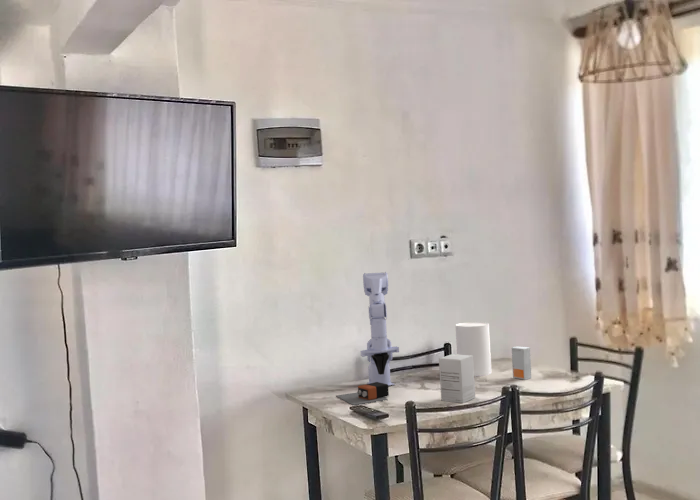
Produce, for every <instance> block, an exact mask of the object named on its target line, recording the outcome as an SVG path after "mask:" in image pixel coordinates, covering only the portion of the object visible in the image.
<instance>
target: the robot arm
mask: <svg viewBox="0 0 700 500" xmlns="http://www.w3.org/2000/svg"><path fill="white" fill-rule="evenodd" d="M388 274H389V273H388V272H387V271H385V272H369V273H366V272H364V273H363V274H362V280H363V282H362V283H363V290H364V291H363V292H364V294H365V296H367V297H369V298H368V299H369V300H368V301H369V304H368V305H369V306H368V319H369V325H370V337H371V339H369V340H367V343H366V349H363V350H360V356H361V357H367V362H368V363H369V365H368V368H367V369H368V370H367V372H368V381H367V382H366V384H370V383H375V382H379V383H384V384H388V387H390V386H391V385H392V386H395V385H396V384H395V383H393V382H391V381H392V379H391V367H390V366H391V365H390V364H391V363H390V362H391V361H393V359H394V358H393V354H394V353H399V352H400V347H399V346H392V341H391V340H390V339H389V338H388V334H387V319H388V314H387V313H388V309H387V304H386V302H385V301H386V300H385V296H386V295H387V294H388V291H389V276H388Z"/></svg>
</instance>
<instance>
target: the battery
mask: <svg viewBox="0 0 700 500" xmlns="http://www.w3.org/2000/svg"><path fill="white" fill-rule="evenodd" d="M356 393H357V394H358V397H359V398H362V399H366V400H373V399H377V398H381V397H384V398H385V397H389V386H388V384H384V383H379V382H375V383H370V384H367V383H366V384H360V385H358V386H357V391H356Z"/></svg>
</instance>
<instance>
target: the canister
mask: <svg viewBox="0 0 700 500" xmlns="http://www.w3.org/2000/svg"><path fill="white" fill-rule="evenodd" d="M490 336H491V334H490V323H489V322H485V321H469V322H460V323H456V324H455V339H456V341H455V343H456V354H458V355H472V356H473V367H474V377H484V375H485V376H488V375H491V374H492V355H491V339H490V338H491V337H490Z"/></svg>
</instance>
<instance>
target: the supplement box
mask: <svg viewBox="0 0 700 500" xmlns="http://www.w3.org/2000/svg"><path fill="white" fill-rule="evenodd" d="M438 367H439V382H440V383H439V384H440V399H441V400H440V401H441V402H452V403H458V404H459V403H460V404H464V403H466V402H468V401H471V400H473V399H475V398H476V386H475V385H476V384H475V376H474V367H473V356H472V355H458V354H457V353H455V354H454V353H452V354H451V353H450V354H449V355H446V356H443V357H439V358H438Z"/></svg>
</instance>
